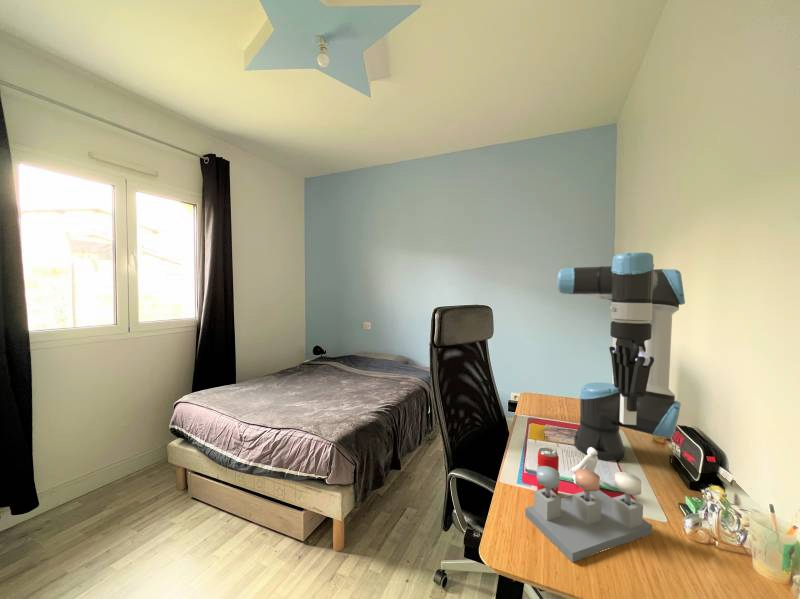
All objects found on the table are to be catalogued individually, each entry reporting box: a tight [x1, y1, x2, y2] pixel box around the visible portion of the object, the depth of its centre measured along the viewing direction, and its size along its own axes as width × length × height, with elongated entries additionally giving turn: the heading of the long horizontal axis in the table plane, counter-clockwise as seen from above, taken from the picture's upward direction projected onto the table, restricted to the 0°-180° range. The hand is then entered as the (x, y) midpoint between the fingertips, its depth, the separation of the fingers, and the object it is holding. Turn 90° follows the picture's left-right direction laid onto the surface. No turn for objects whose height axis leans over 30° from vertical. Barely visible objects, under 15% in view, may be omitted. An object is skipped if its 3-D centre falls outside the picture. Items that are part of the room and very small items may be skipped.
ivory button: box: [614, 471, 642, 506], centre depth 73 cm, size 5×5×7 cm
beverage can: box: [536, 447, 560, 496], centre depth 85 cm, size 5×5×12 cm
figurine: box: [570, 447, 599, 488], centre depth 90 cm, size 8×8×12 cm
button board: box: [524, 488, 653, 563], centre depth 75 cm, size 24×14×6 cm, turn 108°
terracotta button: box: [574, 469, 601, 502], centre depth 74 cm, size 5×5×7 cm
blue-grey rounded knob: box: [536, 466, 560, 498], centre depth 76 cm, size 5×5×7 cm
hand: (627, 423), depth 71 cm, fingers closed
